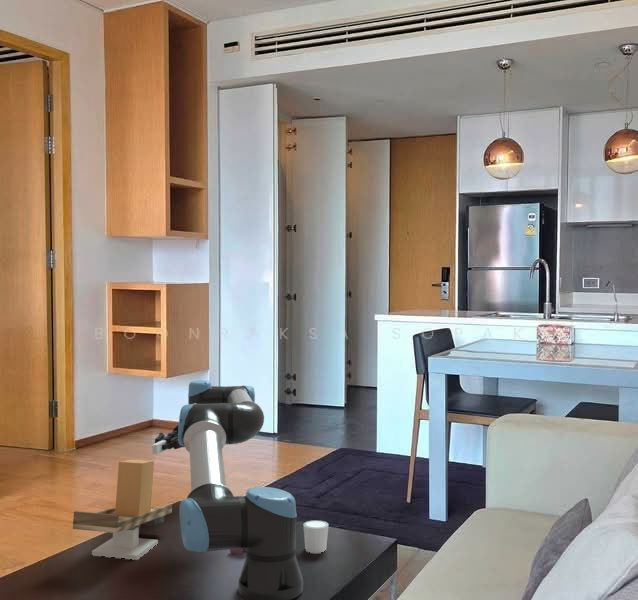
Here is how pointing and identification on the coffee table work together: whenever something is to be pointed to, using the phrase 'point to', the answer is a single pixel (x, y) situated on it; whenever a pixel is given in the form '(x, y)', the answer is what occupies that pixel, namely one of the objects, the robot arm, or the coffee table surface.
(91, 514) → the beam
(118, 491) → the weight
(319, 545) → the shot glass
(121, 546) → the pivot stand
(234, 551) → the video game controller
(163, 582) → the coffee table surface
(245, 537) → the robot arm
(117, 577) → the coffee table surface
